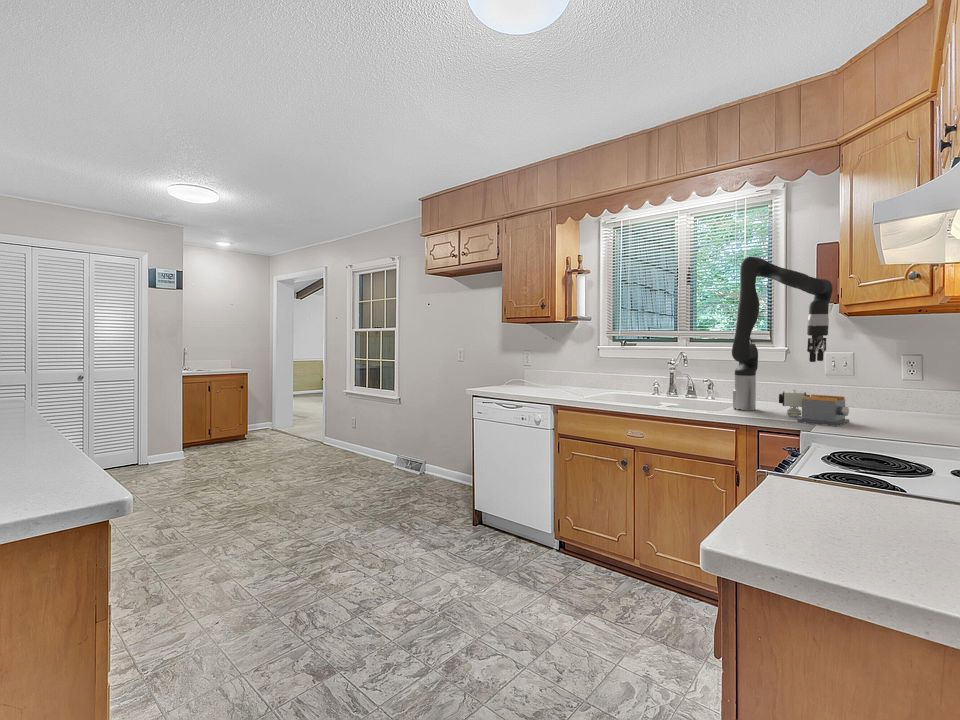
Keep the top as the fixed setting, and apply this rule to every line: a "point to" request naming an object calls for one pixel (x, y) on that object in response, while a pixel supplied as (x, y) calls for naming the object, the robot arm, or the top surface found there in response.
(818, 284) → the robot arm
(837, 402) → the orange-striped grey block
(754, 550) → the top surface
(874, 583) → the top surface
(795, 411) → the pneumatic valve
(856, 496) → the top surface
